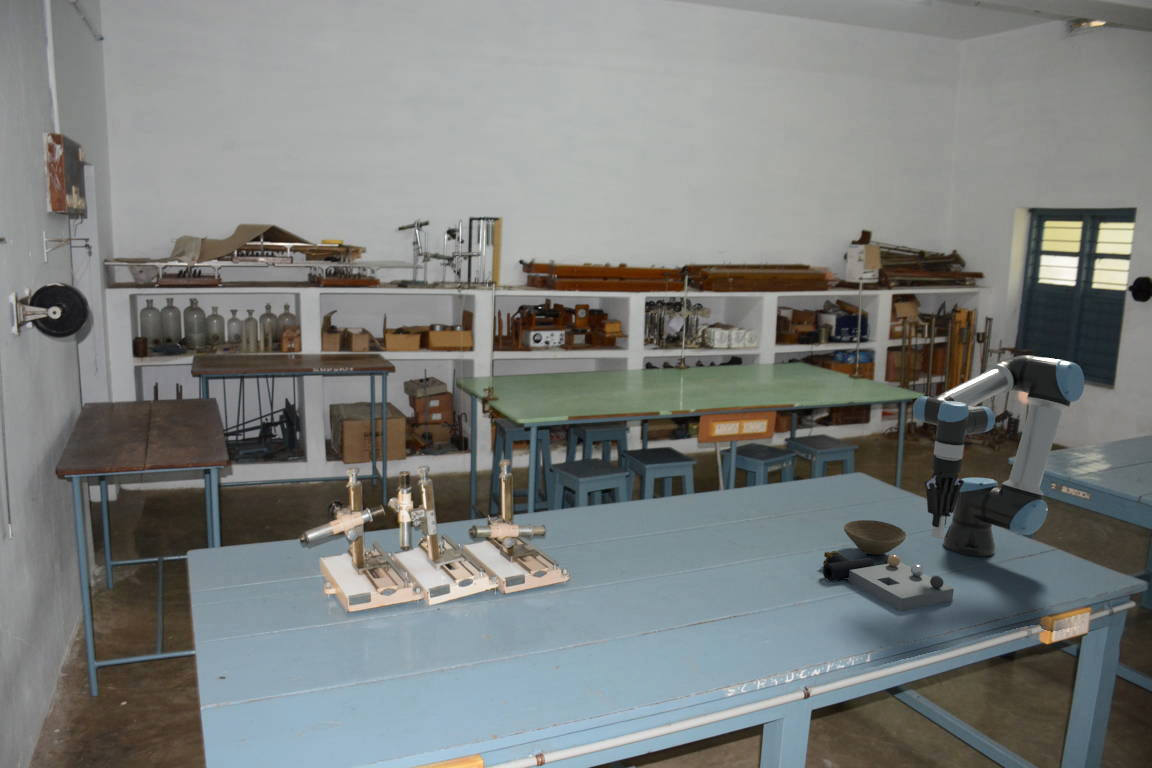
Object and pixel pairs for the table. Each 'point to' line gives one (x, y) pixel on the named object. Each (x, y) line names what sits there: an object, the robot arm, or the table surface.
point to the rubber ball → (936, 582)
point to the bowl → (874, 536)
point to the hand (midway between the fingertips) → (937, 537)
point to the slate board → (899, 586)
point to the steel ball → (917, 570)
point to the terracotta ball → (893, 560)
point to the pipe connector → (842, 565)
